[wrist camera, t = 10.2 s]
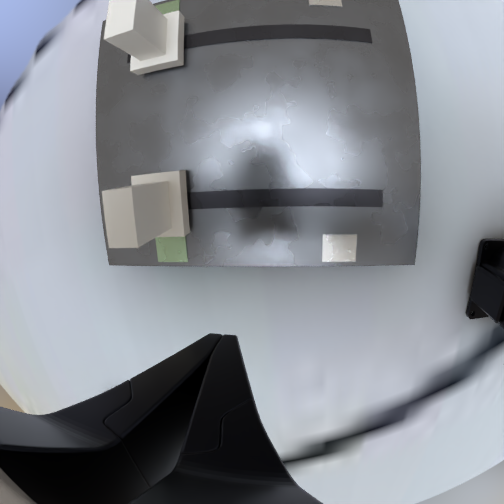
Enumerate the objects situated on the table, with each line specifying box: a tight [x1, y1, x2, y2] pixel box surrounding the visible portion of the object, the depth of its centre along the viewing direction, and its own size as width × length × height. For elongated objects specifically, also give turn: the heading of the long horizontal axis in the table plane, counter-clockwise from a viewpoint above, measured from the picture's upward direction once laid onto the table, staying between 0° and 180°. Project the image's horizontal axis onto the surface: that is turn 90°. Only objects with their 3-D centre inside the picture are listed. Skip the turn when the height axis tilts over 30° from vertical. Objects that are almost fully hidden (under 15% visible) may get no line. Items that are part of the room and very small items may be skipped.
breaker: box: [104, 0, 184, 75], centre depth 11 cm, size 3×4×5 cm
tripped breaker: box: [102, 170, 190, 248], centre depth 14 cm, size 3×4×5 cm
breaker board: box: [96, 0, 421, 266], centre depth 16 cm, size 20×18×2 cm
